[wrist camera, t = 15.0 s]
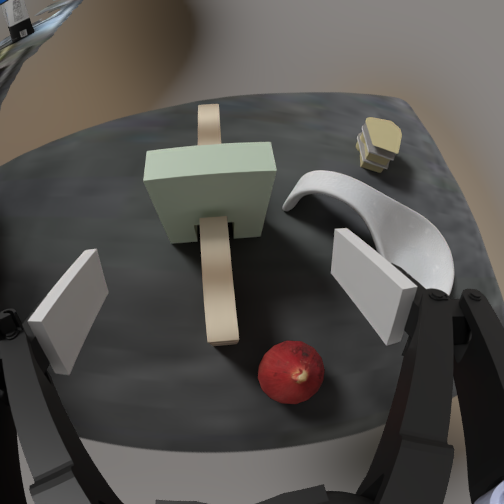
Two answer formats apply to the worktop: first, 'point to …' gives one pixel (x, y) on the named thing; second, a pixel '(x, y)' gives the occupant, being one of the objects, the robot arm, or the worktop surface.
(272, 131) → the worktop surface
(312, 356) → the onion
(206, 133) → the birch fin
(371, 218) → the spoon rest
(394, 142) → the pale yellow layered block
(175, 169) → the notched piece
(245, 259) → the worktop surface
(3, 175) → the worktop surface
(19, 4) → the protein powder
